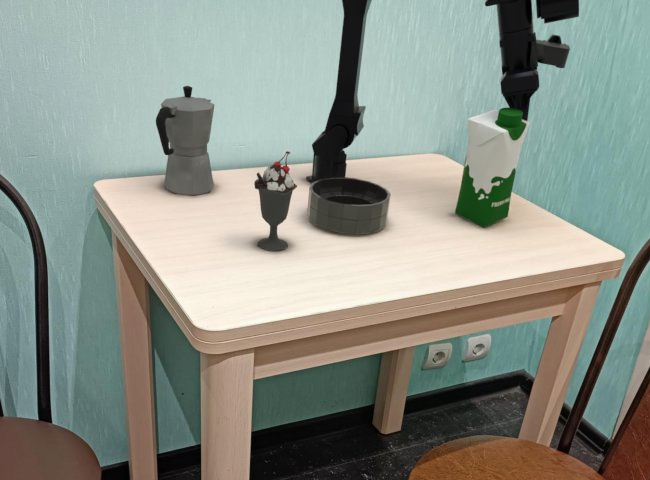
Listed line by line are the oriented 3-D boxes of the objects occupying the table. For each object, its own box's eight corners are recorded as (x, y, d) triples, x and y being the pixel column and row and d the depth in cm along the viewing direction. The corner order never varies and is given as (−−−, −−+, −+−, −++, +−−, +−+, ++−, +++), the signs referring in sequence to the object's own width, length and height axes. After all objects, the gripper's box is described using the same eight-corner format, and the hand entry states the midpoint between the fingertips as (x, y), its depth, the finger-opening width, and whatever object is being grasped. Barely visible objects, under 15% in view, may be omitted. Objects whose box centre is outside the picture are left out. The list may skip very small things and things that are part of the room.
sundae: (299, 241, 125) (305, 150, 117) (284, 256, 120) (289, 162, 111) (262, 233, 127) (266, 143, 118) (245, 247, 121) (248, 154, 113)
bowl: (291, 214, 135) (293, 184, 132) (350, 201, 143) (353, 172, 140) (342, 242, 127) (345, 211, 123) (402, 227, 135) (407, 197, 132)
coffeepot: (188, 172, 148) (187, 75, 138) (229, 183, 145) (231, 84, 135) (138, 193, 137) (133, 89, 127) (182, 206, 134) (180, 100, 124)
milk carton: (485, 231, 137) (506, 121, 124) (447, 212, 142) (463, 105, 129) (514, 217, 142) (538, 110, 129) (477, 199, 147) (496, 95, 134)
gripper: (568, 27, 120) (573, 127, 127) (562, 12, 135) (566, 102, 143) (496, 41, 123) (505, 138, 131) (498, 25, 138) (506, 113, 146)
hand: (523, 122), depth 137 cm, fingers open, 8 cm apart
